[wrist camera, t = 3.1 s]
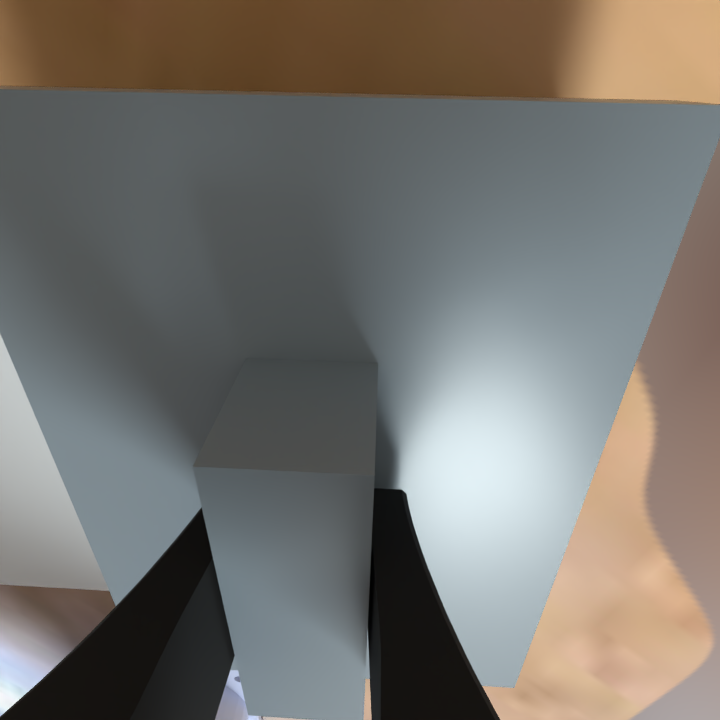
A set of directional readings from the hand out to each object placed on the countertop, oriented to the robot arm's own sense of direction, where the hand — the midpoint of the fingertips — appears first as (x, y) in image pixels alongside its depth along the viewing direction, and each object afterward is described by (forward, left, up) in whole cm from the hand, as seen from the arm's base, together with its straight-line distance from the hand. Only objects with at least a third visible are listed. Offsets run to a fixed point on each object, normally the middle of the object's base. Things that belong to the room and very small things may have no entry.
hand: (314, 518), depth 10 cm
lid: (0, 0, -2) cm, 2 cm away
